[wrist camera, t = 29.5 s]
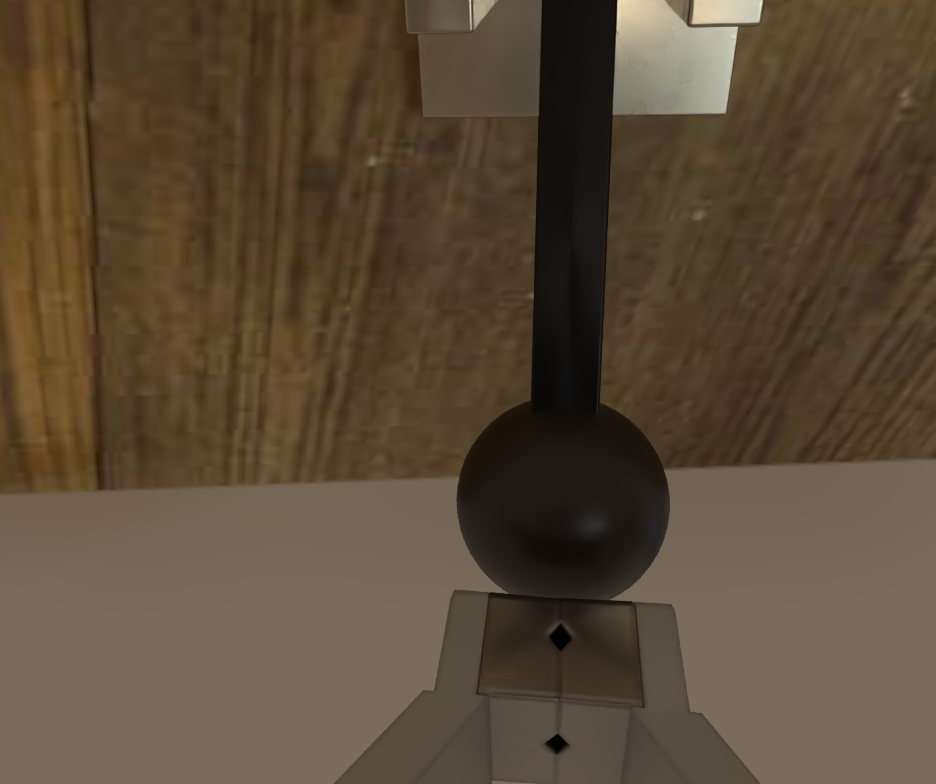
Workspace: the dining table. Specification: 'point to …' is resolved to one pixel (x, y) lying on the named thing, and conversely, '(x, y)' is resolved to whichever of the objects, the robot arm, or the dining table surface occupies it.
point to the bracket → (518, 55)
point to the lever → (567, 362)
